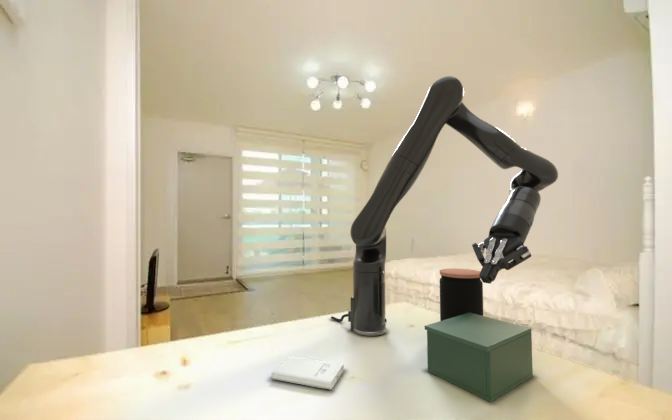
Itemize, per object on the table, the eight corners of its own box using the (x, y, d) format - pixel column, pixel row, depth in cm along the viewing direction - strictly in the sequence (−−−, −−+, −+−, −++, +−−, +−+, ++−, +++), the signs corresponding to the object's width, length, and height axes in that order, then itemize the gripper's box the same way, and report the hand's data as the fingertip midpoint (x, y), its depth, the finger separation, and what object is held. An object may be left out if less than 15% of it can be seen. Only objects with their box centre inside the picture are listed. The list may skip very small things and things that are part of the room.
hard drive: (290, 362, 69) (343, 370, 65) (271, 380, 61) (330, 391, 57) (290, 355, 69) (343, 363, 65) (271, 371, 61) (330, 382, 57)
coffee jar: (475, 333, 87) (474, 268, 88) (490, 348, 76) (488, 275, 77) (436, 331, 88) (435, 268, 89) (446, 347, 77) (444, 274, 78)
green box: (491, 402, 54) (490, 350, 54) (427, 371, 65) (426, 328, 65) (532, 376, 62) (531, 332, 63) (470, 353, 74) (469, 315, 74)
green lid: (487, 351, 53) (487, 347, 53) (424, 329, 65) (424, 325, 65) (531, 332, 63) (531, 328, 63) (469, 315, 74) (469, 312, 74)
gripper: (479, 212, 77) (450, 265, 70) (537, 210, 67) (510, 273, 59) (491, 233, 80) (464, 286, 73) (549, 235, 69) (524, 297, 62)
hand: (485, 280), depth 66 cm, fingers closed
